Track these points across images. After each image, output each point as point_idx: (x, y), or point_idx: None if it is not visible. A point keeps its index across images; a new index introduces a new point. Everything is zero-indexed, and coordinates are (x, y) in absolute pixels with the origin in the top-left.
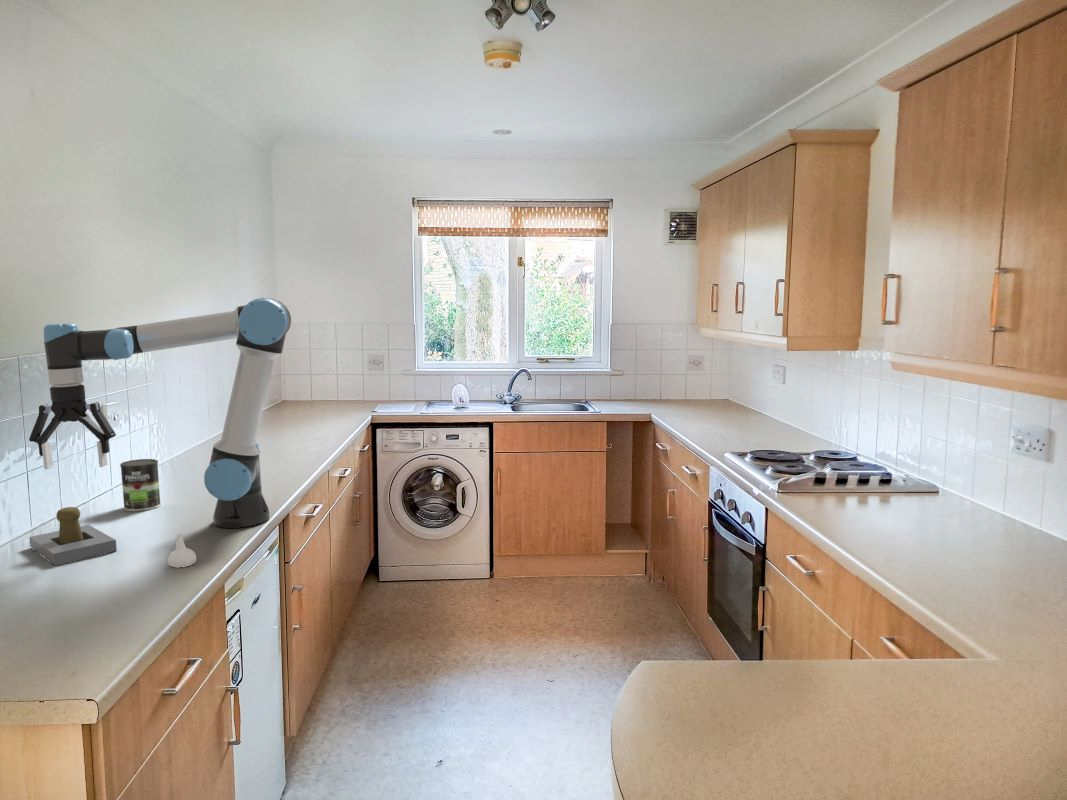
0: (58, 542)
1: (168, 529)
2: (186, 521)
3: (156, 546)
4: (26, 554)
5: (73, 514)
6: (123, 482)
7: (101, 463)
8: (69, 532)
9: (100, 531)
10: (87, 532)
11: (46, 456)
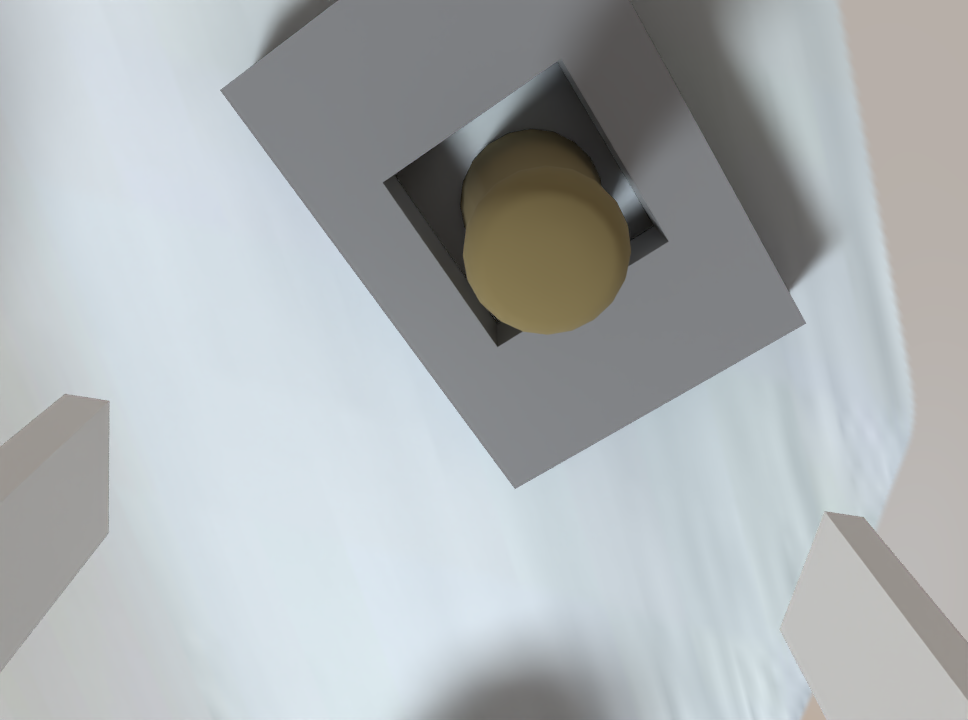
0: None
1: None
2: None
3: (30, 124)
4: (775, 180)
5: (489, 193)
6: None
7: (46, 416)
8: (524, 162)
9: (393, 323)
10: (469, 321)
11: (911, 642)
